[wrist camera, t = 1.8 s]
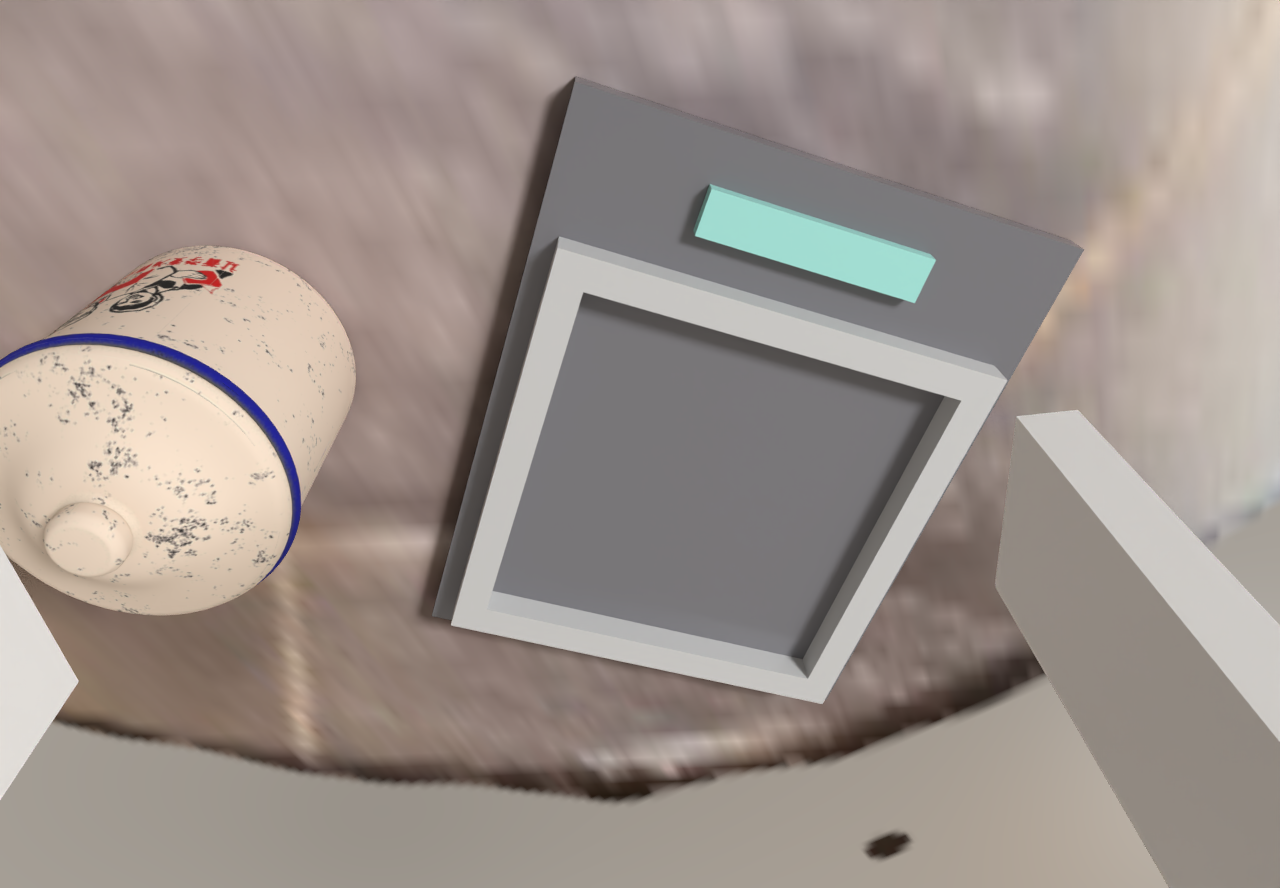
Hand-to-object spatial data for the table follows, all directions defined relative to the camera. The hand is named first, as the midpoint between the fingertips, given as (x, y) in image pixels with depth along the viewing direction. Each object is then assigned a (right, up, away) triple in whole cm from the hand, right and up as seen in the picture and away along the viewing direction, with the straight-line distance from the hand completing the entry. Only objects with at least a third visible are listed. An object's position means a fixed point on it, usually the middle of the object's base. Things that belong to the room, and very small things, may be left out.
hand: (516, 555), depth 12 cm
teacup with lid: (-14, +4, +22) cm, 26 cm away
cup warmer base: (+5, +2, +23) cm, 24 cm away
